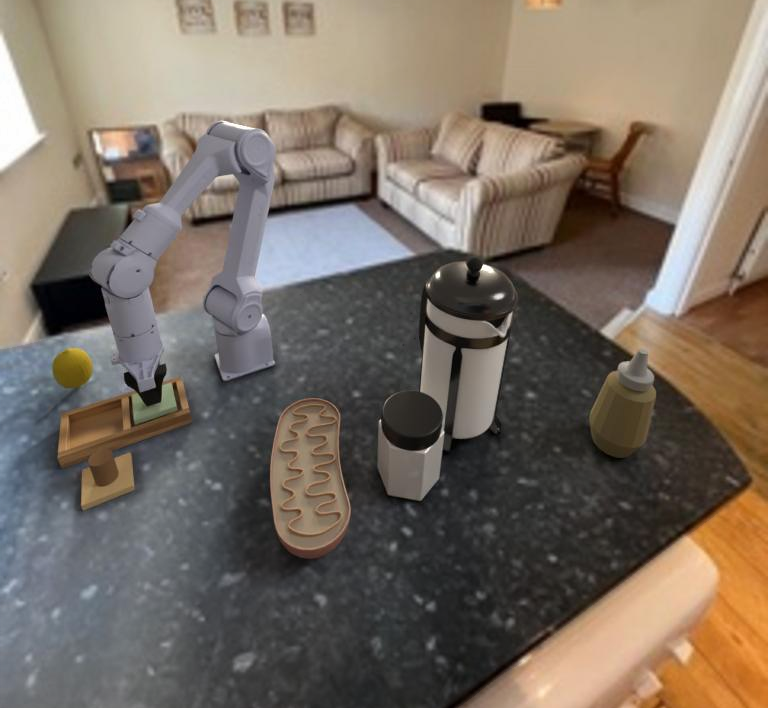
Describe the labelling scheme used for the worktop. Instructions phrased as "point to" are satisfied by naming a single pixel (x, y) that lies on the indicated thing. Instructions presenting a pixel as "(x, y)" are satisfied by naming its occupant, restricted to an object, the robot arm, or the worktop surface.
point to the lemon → (72, 368)
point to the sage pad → (154, 406)
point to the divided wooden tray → (114, 425)
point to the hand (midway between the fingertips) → (152, 395)
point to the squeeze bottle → (624, 408)
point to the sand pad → (111, 490)
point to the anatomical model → (308, 479)
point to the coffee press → (465, 344)
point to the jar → (410, 444)
